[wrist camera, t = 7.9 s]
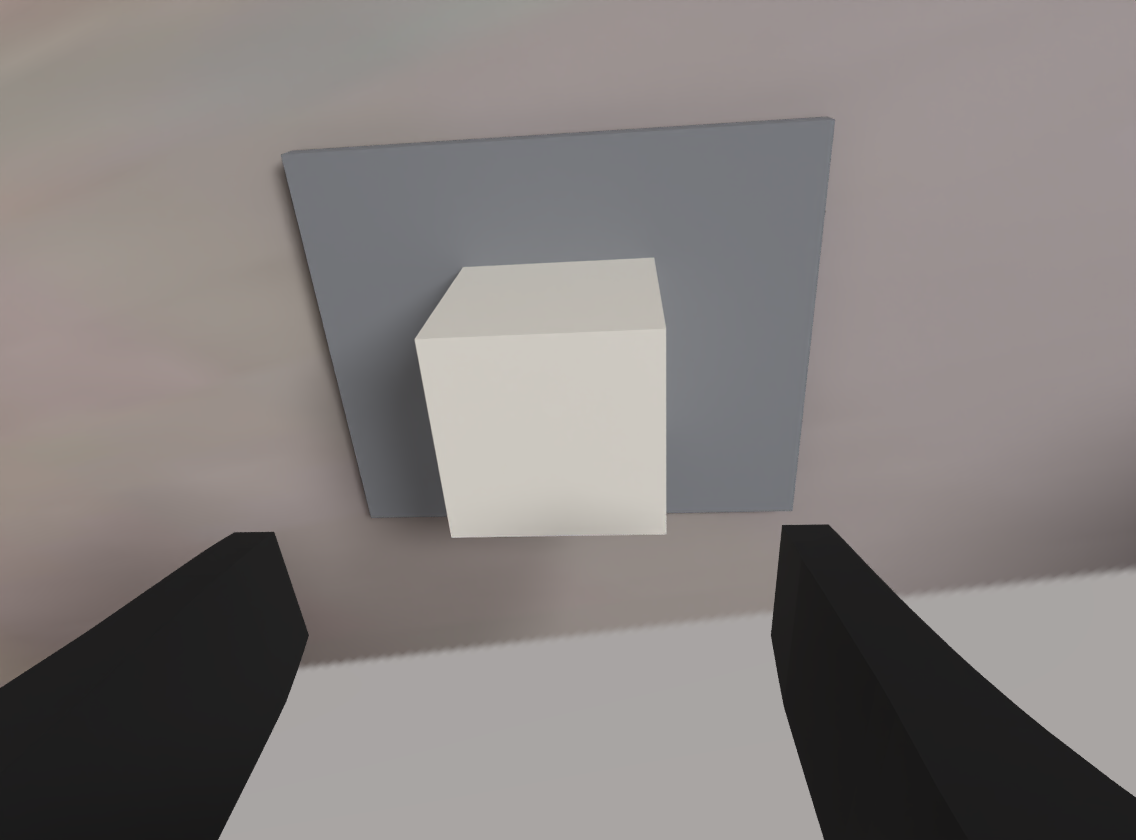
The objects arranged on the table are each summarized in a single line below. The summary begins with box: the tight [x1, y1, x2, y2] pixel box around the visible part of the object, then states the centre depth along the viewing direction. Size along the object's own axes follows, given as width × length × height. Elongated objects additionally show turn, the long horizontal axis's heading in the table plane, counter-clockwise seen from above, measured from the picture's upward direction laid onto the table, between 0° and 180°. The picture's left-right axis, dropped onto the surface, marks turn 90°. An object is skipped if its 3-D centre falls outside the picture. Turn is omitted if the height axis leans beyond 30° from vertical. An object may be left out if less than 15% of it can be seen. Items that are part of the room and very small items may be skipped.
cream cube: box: [415, 258, 666, 538], centre depth 15 cm, size 4×4×4 cm
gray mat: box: [281, 117, 835, 518], centre depth 18 cm, size 12×10×1 cm
